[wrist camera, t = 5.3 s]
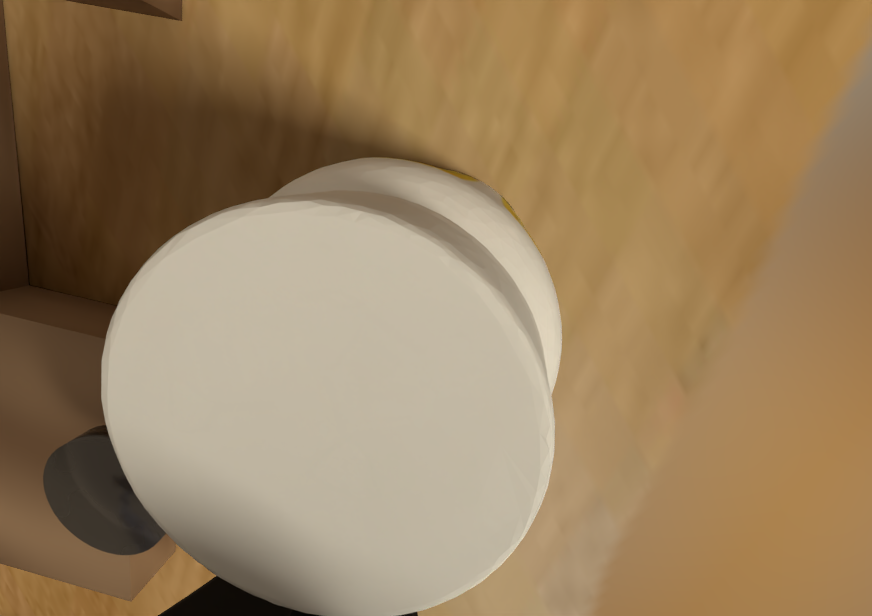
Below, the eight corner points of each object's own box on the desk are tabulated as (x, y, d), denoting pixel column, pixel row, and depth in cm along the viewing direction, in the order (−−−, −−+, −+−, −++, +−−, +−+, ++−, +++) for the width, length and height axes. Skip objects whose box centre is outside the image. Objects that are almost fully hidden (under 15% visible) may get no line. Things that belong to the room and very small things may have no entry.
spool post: (276, 442, 14) (166, 569, 9) (194, 421, 14) (48, 536, 10) (283, 363, 13) (167, 459, 8) (196, 343, 13) (38, 425, 9)
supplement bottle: (320, 277, 12) (-19, 456, 4) (417, 129, 11) (185, -28, 3) (457, 378, 12) (386, 729, 4) (569, 247, 11) (757, 412, 3)
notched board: (175, 550, 16) (131, 601, 14) (26, 509, 16) (-37, 552, 14) (182, -36, 10) (111, -85, 9) (-40, -73, 11) (-153, -127, 9)
